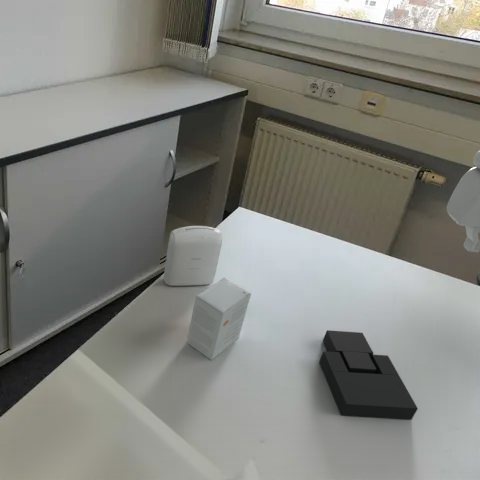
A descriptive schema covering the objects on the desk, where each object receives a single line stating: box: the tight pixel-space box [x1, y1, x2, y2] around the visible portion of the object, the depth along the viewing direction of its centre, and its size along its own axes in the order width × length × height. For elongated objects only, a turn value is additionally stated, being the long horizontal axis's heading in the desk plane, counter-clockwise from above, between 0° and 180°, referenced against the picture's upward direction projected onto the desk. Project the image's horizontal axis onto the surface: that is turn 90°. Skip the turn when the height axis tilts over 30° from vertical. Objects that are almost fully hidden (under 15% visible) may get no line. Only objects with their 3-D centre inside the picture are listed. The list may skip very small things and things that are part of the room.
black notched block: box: [318, 350, 418, 421], centre depth 86 cm, size 11×11×3 cm
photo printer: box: [162, 225, 223, 287], centre depth 104 cm, size 10×4×12 cm, turn 99°
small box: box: [186, 277, 252, 361], centre depth 90 cm, size 8×6×10 cm
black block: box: [322, 329, 377, 374], centre depth 91 cm, size 9×6×3 cm
